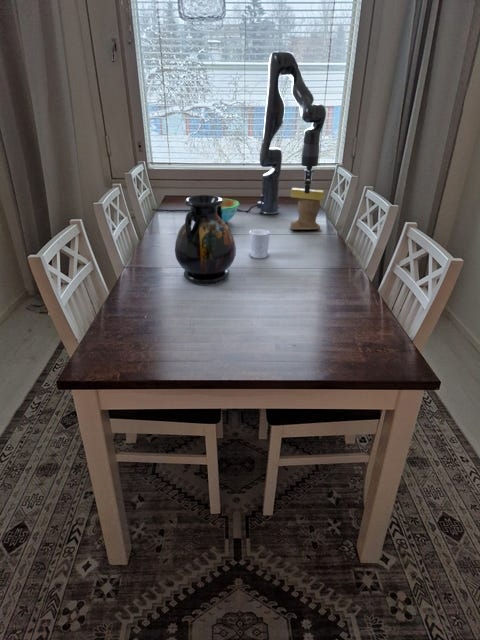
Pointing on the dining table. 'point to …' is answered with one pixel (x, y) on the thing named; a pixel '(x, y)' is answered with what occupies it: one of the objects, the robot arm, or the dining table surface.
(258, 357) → the dining table surface
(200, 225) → the amphora vase
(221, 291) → the dining table surface
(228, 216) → the bowl
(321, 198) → the packet
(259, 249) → the white cup
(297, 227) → the stone cup
